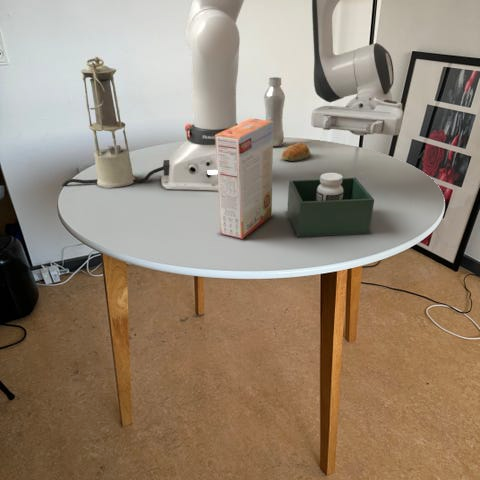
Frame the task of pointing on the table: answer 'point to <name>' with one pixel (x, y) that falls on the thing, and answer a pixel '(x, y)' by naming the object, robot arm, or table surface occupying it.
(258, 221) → the cracker box
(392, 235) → the table surface
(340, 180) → the pill bottle
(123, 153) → the lamp
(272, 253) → the table surface
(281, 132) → the plastic bottle
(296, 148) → the pastry
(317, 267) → the table surface
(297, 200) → the bin
